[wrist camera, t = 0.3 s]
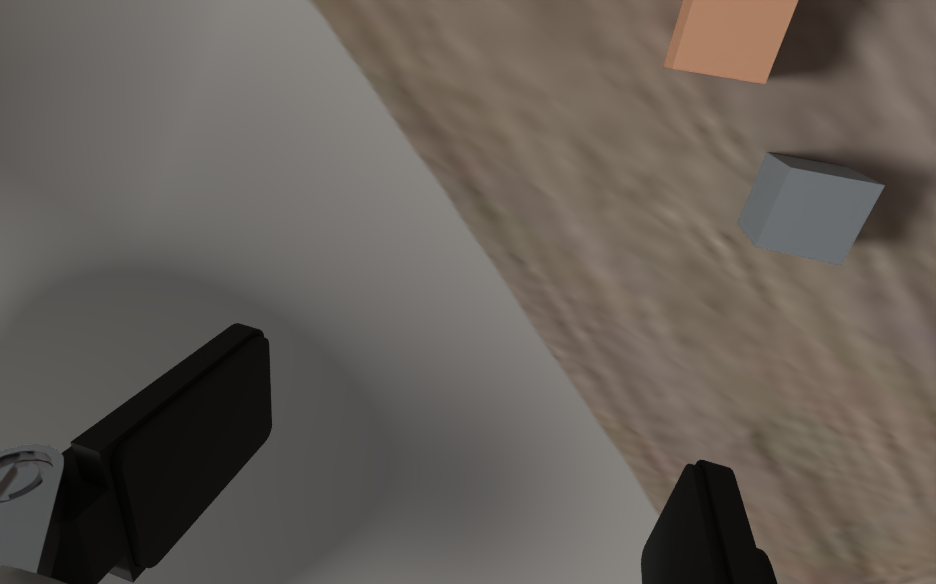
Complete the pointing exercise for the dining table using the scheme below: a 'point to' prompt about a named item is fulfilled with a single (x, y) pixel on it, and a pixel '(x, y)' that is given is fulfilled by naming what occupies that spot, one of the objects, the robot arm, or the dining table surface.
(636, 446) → the dining table surface
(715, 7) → the rust block
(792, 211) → the slate block
